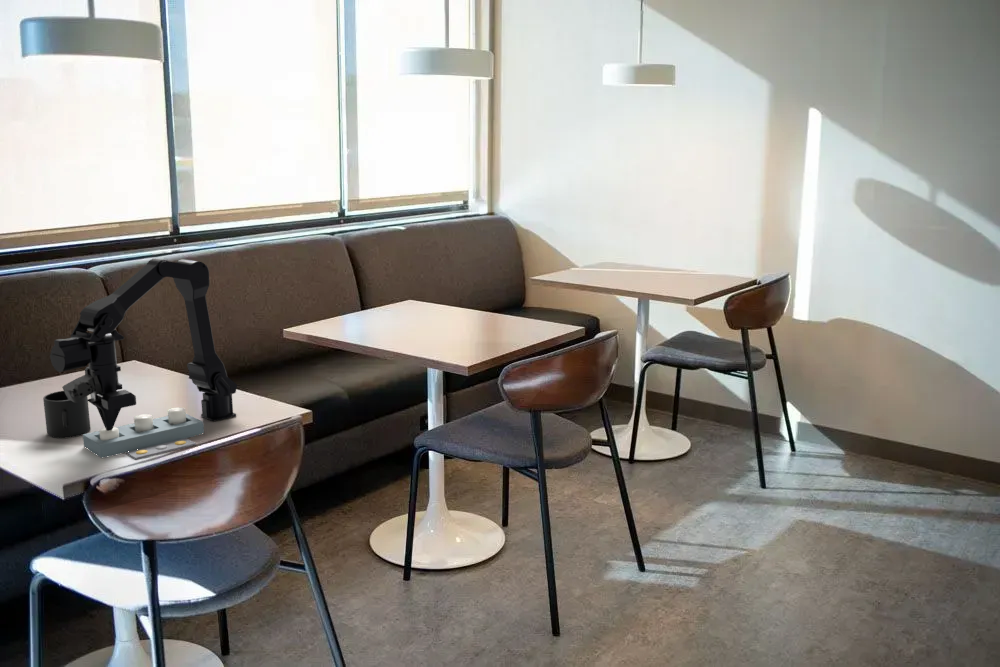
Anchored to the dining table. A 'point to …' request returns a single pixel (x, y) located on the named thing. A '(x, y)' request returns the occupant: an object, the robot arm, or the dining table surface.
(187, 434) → the button board
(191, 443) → the card
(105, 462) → the dining table surface
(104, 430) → the button
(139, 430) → the button mid
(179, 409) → the button
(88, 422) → the mug
